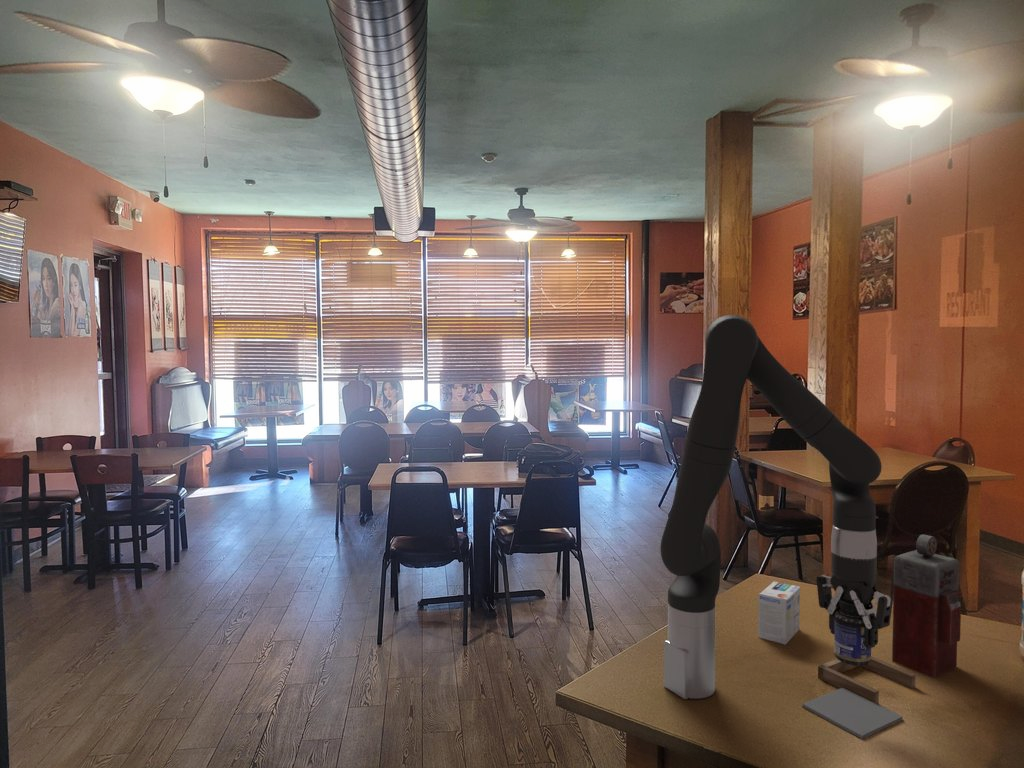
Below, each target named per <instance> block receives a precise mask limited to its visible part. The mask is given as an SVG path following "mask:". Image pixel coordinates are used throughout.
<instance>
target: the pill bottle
mask: <svg viewBox="0 0 1024 768" xmlns="http://www.w3.org/2000/svg"><path fill="white" fill-rule="evenodd" d="M839 607H840V610H838V611H837V612H836V613H835V616H834V618H835V631H834V634H833V635H834V640H833V641H834V643H833V644H834V647H833V650H834V656H835V658H836V659H838V660H840V661H841V662H843V663H846V664H850V665H854V666H858V667H862V666H865V665H868V664H869V663H870V662H871V656H872V648H870V649H869V648H866V647H865V646H864V640H865V627H866V626H865V623H864V621H863V618H862V616H860V615H859V613H858V611H857V608H856V605H855V604H853V603H850V602H847V601H844V600H842V599H840V600H839ZM864 608H865V610H867V606H865V607H864Z"/></svg>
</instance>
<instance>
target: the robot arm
mask: <svg viewBox="0 0 1024 768" xmlns="http://www.w3.org/2000/svg"><path fill="white" fill-rule="evenodd" d="M757 333H758V332H757V331H756V328H755V327H754V326H753V324H752V323H751V322H750V321H749V320H748V319H746V318H745V317H743V316H740V315H736V314H726V315H723V316H720V317H718V318H716V319H715V320H714V321H713V322H712V323H711V324H710V325H709V326H708V329H707V330H706V334H705V339H704V340H705V341H704V346H705V347H704V348H705V349H704V350H705V353H704V365H703V372H702V373H703V375H702V383H701V388H700V391H699V395H698V398H697V400H696V403H695V406H694V408H693V411H692V413H691V416H690V419H689V423H688V425H687V426H688V427H687V431H686V435H685V439H684V440H685V441H684V445H683V449H682V454H681V455H682V456H681V461H680V467H679V468H680V469H679V472H678V477H677V483H676V485H675V492H674V496H673V502H672V504H671V507H670V508H671V509H670V510H669V511H670V512H669V514H668V518H667V520H666V524H665V527H664V530H663V533H662V537H661V539H660V540H661V541H660V557H661V560H662V563H663V565H664V566H665V568H666V569H667V570H668V571H669V572H670V573H671V574H673V575H675V579H674V580H673V582H672V583H671V584H670V586H669V588H668V591H667V639H666V640H664V641H663V687H665V688H666V689H668V690H669V691H671V692H672V693H673V694H675V695H677V696H679V697H680V698H682V699H683V700H688V698H689V699H706V698H709V697H711V696H712V695H713V694H715V691H716V599H717V596H718V593H719V590H720V584H721V582H720V581H721V568H722V567H721V565H722V564H721V563H722V562H721V561H722V549H721V543H720V539H719V537H718V535H717V533H716V531H715V530H714V529H713V528H712V527H711V526H710V525H708V524H707V523H706V520H707V517H708V514H709V511H710V508H711V507H712V505H713V503H714V501H715V499H716V498H717V496H718V494H719V492H720V491H721V488H722V487H723V485H724V483H725V481H726V480H727V477H728V476H729V473H730V470H731V467H732V463H733V459H734V455H735V450H736V445H737V439H738V432H739V425H740V417H741V414H740V413H741V404H742V396H743V391H744V388H745V385H746V382H747V380H748V381H749V382H750V383H751V384H752V385H753V386H754V387H755V388H756V390H758V391H759V392H760V394H762V395H763V397H764V398H765V399H766V400H767V401H768V403H769V404H770V406H771V407H772V408H773V409H774V410H775V411H776V412H777V414H778V415H779V416H780V417H781V418H782V419H783V420H784V421H785V423H786V424H787V425H789V427H791V428H792V430H794V432H795V433H796V434H797V435H798V436H800V438H801V439H803V441H805V443H807V444H808V445H809V446H810V447H813V449H815V450H816V451H818V452H819V453H820V454H821V455H822V456H823V457H824V458H825V459H826V460H827V461H828V471H829V480H830V488H831V492H832V499H833V506H832V530H831V534H830V535H831V536H830V537H831V538H830V573H831V574H832V575H831V576H830V575H829V574H826V573H825V574H821V575H819V576H816V587H817V588H816V589H817V599H818V606H819V607H820V609H825V610H826V611H827V613H828V628H829V630H830V634H832V635H834V631H835V618H834V616H835V613H836V612H837V611H838V610H840V607H839V600H840V599H842V600H844V601H847V602H850V603H853V604H855V605H856V608H857V611H858V613H859V615H860V616H862V618H863V621H864V623H865V626H866V627H865V640H864V646H865V647H866V648H869V649H870V648H871V649H872V648H875V646H877V645H878V643H879V630H882V629H884V628H887V627H889V626H890V625H891V617H892V613H893V594H891V593H889V594H883V593H881V592H879V591H878V589H877V586H876V580H877V565H878V558H877V557H878V541H877V539H878V538H877V529H876V520H877V519H876V516H877V509H876V503H875V500H874V498H873V497H872V496H871V493H870V484H871V483H873V482H875V481H876V480H877V479H878V478H879V477H880V475H881V472H882V468H883V467H882V466H883V465H882V461H881V458H880V456H879V455H878V453H877V452H876V451H875V450H874V449H873V448H872V447H871V446H870V445H869V444H868V443H867V442H865V441H864V440H863V439H862V438H861V437H860V436H858V435H857V434H856V433H854V432H853V431H852V430H851V429H849V428H848V427H847V426H846V425H845V424H844V423H842V421H841V420H840V419H839V417H837V416H836V415H835V414H834V413H833V412H832V411H831V409H830V408H829V407H828V406H826V404H824V403H823V401H821V400H820V398H818V397H817V396H816V395H815V394H814V393H813V392H812V391H811V390H809V389H808V388H807V387H806V386H805V385H804V384H802V382H800V380H798V379H797V378H796V377H795V376H794V375H793V374H791V373H790V372H789V371H788V370H787V368H785V367H784V365H782V364H781V363H780V362H779V361H778V360H777V359H776V358H775V357H774V355H773V354H772V353H771V352H770V350H768V348H767V347H766V345H765V344H764V342H763V341H762V340H761V337H759V336H758V334H757ZM832 588H833V590H834V594H833V593H832ZM832 594H833V595H832ZM874 599H875V603H874V601H873V600H874ZM865 606H867V610H865V608H864V607H865ZM876 606H877V608H876Z"/></svg>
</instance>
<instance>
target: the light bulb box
mask: <svg viewBox="0 0 1024 768" xmlns="http://www.w3.org/2000/svg"><path fill="white" fill-rule="evenodd" d="M800 609H801V587H800V586H798V585H793V584H788V583H784V582H779V581H772V582H771V583H770V584H768V586H767V587H766V588H764V589H763V590H762V591H760V592H759V593H758V622H757V623H758V626H757V627H758V634H757V635H758V638H760V639H764V640H766V641H771V642H774V643H779V644H782V645H787V643H789V642H790V641H791V640H792V639H793V637H794V636H795V635H796V634H797V633H798V631H799V630H800V619H801V618H800V617H801V615H800V613H801V610H800Z"/></svg>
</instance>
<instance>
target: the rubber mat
mask: <svg viewBox="0 0 1024 768" xmlns="http://www.w3.org/2000/svg"><path fill="white" fill-rule="evenodd" d="M802 708H803V709H806V710H807V711H809V712H811V713H812V714H815V715H817V716H818V717H820V718H822V719H824V720H826V721H828V722H830V723H831V724H833V725H835V726H838V727H839V728H841V729H843V730H845V732H847V733H850V734H851V735H854V736H855V737H857V738H860V740H863V739H865V738H868V737H869V736H871V735H873V734H876V733H878V732H879V731H882V730H885V729H886V728H888V727H890V726H892V725H894V724H897V723H899V722H900V721H902V720H903V715H901V714H899V713H897V712H894V711H892V710H890V709H888V708H886V707H884V706H883V705H882V706H881V705H880V704H879V703H878V704H876V703H874V702H872V701H869V700H867V699H865V698H863V697H861V696H859V695H857V694H855V693H853V692H851V691H849V690H847V689H845V688H837V689H835V690H833V691H831V692H828V693H826V694H823V695H821V696H819V697H816V698H814V699H813V698H812V699H811V700H809V701H808V700H807V701H806V702H804V703H802Z"/></svg>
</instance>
